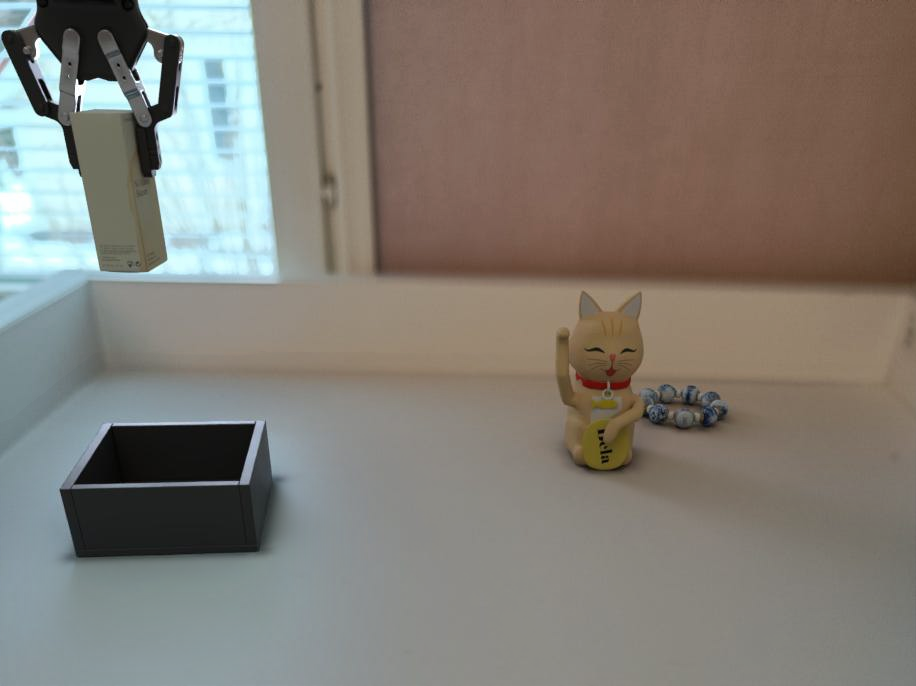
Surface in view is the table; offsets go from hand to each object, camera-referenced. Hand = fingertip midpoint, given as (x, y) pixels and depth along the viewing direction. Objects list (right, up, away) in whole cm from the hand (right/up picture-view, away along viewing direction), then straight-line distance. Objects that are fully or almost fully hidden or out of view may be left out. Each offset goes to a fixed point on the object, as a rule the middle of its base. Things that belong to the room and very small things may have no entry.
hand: (118, 175), depth 77 cm
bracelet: (+53, -15, +21) cm, 59 cm away
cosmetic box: (0, -6, +4) cm, 8 cm away
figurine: (+42, -22, +11) cm, 48 cm away
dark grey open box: (+6, -29, -2) cm, 30 cm away
